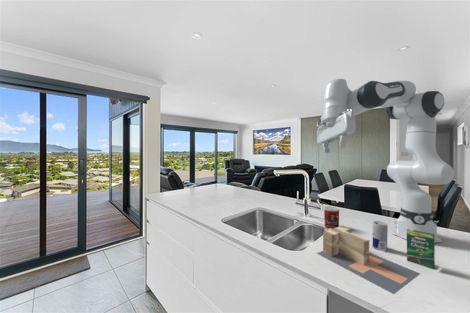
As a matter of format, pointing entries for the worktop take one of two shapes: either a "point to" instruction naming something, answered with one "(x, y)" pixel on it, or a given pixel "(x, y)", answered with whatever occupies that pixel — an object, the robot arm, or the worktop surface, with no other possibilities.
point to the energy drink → (380, 235)
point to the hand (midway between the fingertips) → (333, 150)
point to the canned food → (331, 217)
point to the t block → (346, 244)
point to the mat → (377, 271)
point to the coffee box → (421, 248)
